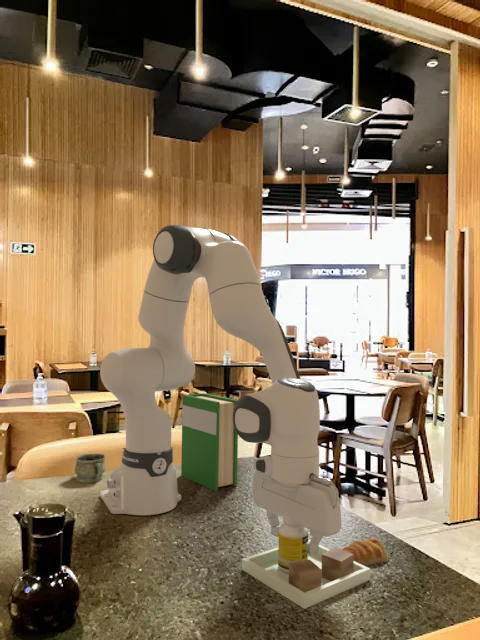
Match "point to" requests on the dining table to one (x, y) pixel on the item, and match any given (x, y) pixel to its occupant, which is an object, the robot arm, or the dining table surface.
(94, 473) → the vessel
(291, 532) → the supplement bottle
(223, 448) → the hardback book
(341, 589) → the tray
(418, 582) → the dining table surface
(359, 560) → the pastry
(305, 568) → the walnut block
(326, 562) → the walnut block
